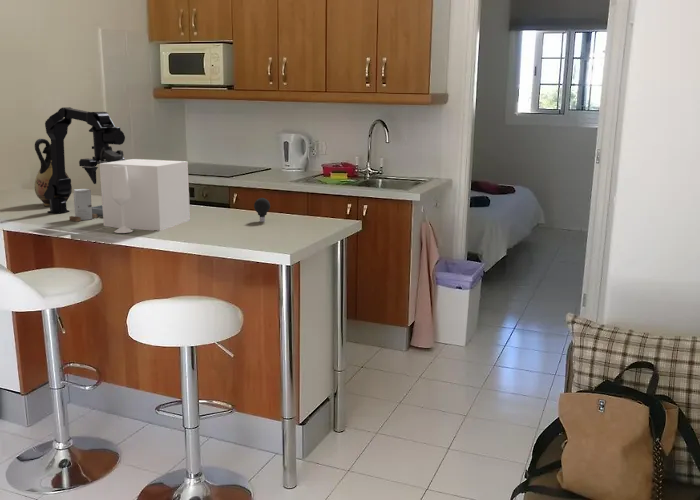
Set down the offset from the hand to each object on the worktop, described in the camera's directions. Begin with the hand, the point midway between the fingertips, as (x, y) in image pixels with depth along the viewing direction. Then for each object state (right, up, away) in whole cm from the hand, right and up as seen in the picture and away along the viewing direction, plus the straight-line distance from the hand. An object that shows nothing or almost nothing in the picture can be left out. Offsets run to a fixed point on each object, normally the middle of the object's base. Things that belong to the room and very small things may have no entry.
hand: (103, 182), depth 273 cm
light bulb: (+64, -16, -2) cm, 66 cm away
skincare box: (-8, -15, +1) cm, 17 cm away
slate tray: (-2, -12, +14) cm, 18 cm away
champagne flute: (+15, -20, -22) cm, 34 cm away
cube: (+20, -17, -6) cm, 27 cm away
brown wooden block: (-9, -15, +1) cm, 17 cm away
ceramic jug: (-36, -7, +34) cm, 50 cm away
